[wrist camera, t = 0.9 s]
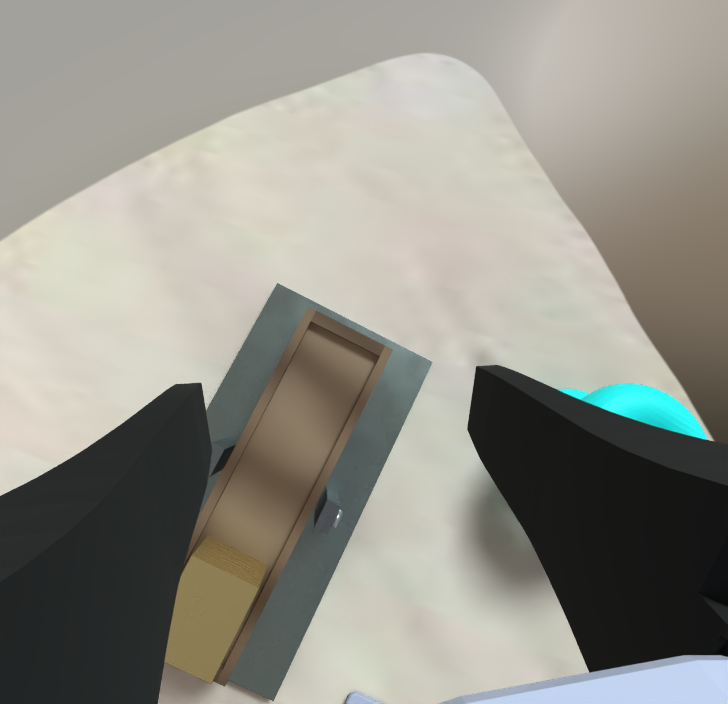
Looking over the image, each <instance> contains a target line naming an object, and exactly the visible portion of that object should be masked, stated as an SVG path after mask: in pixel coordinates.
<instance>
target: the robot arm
mask: <svg viewBox="0 0 728 704" xmlns="http://www.w3.org/2000/svg"><path fill="white" fill-rule="evenodd" d="M467 429H468V432H469V434H470V437H471V439H472V441H473V444H474V446H475V448H476V451H477V453H478V455H479V457H480V459H481V461H482V463H483V464H484V466H485V468H486V469H487V471H488V473H489V474H490V476H491V478H492V479H493V481H494V482H495V484H496V486H497V487H498V489H499V490H500V492H501V494H502V495H503V497H504V498H505V500H506V502H507V503H508V505H509V506H510V508H511V510H512V511H513V513H514V514H515V516H516V518H517V519H518V521H519V522H520V524H521V526H522V527H523V529H524V531H525V532H526V534H527V536H528V538H529V540H530V541H531V543H532V545H533V547H534V549H535V551H536V553H537V555H538V557H539V560H540V562H541V564H542V566H543V568H544V570H545V572H546V574H547V576H548V578H549V580H550V582H551V585H552V587H553V589H554V591H555V593H556V596H557V598H558V600H559V602H560V604H561V607H562V609H563V611H564V613H565V615H566V618H567V620H568V622H569V625H570V627H571V629H572V632H573V634H574V637H575V639H576V641H577V644H578V646H579V649H580V651H581V653H582V656H583V658H584V661H585V663H586V665H587V668H588V670H589V673H585V674H580V675H574V676H569V677H563V678H558V679H552V680H547V681H542V682H536V683H531V684H525V685H520V686H514V687H509V688H503V689H498V690H493V691H487V692H482V693H476V694H471V695H465V696H460V697H457V698H454V699H451V700H448V701H445V702H442V703H439V704H728V445H727V444H723V443H718V442H714V441H709V440H705V439H701V438H697V437H693V436H689V435H685V434H681V433H677V432H674V431H670V430H666V429H663V428H659V427H656V426H653V425H649V424H646V423H643V422H640V421H637V420H634V419H631V418H628V417H625V416H622V415H619V414H616V413H613V412H610V411H608V410H605V409H603V408H600V407H598V406H595V405H592V404H590V403H587V402H585V401H582V400H580V399H578V398H575V397H573V396H570V395H568V394H566V393H564V392H561V391H559V390H557V389H554V388H552V387H550V386H548V385H546V384H543V383H541V382H539V381H537V380H534V379H532V378H530V377H528V376H525V375H523V374H521V373H518V372H516V371H513V370H511V369H508V368H505V367H502V366H499V365H490V366H476V372H475V379H474V386H473V393H472V400H471V407H470V414H469V421H468V428H467ZM211 456H212V445H211V439H210V433H209V427H208V421H207V415H206V409H205V403H204V397H203V390H202V384H201V383H190V384H175V385H174V386H172V387H170V388H169V389H168V390H166V391H165V392H163V393H162V394H161V395H159V396H158V397H157V398H155V399H154V400H153V401H152V402H150V403H149V404H148V405H146V406H145V407H144V408H142V409H141V410H140V411H138V412H137V413H136V414H134V415H133V416H132V417H130V418H129V419H128V420H126V421H125V422H124V423H122V424H121V425H120V426H118V427H117V428H115V429H114V430H112V431H111V432H109V433H108V434H107V435H105V436H104V437H102V438H101V439H99V440H98V441H96V442H95V443H93V444H92V445H90V446H89V447H88V448H86V449H85V450H83V451H81V452H80V453H78V454H77V455H75V456H73V457H72V458H70V459H68V460H67V461H65V462H64V463H62V464H60V465H58V466H57V467H55V468H53V469H51V470H49V471H48V472H46V473H44V474H42V475H41V476H39V477H37V478H35V479H33V480H31V481H30V482H28V483H26V484H24V485H22V486H20V487H18V488H16V489H13V490H11V491H9V492H7V493H5V494H3V495H1V496H0V704H158V698H159V691H160V685H161V679H162V673H163V667H164V661H165V655H166V649H167V643H168V638H169V632H170V626H171V621H172V616H173V610H174V605H175V600H176V594H177V589H178V585H179V581H180V577H181V573H182V569H183V565H184V562H185V559H186V555H187V552H188V549H189V545H190V542H191V538H192V535H193V532H194V528H195V525H196V522H197V518H198V515H199V512H200V508H201V505H202V501H203V498H204V494H205V491H206V487H207V483H208V476H209V470H210V463H211ZM345 704H382V703H380V702H378V701H376V700H374V699H372V698H369V697H367V696H365V695H363V694H361V693H359V692H356V691H354V692H352V693H350V695H349V696H348V699H347V701H346V703H345Z"/></svg>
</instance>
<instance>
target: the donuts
mask: <svg viewBox="0 0 728 704" xmlns="http://www.w3.org/2000/svg"><path fill="white" fill-rule="evenodd" d="M558 390H559V391H561V392H564V393H566V394H568V395H570V396H573V397H575V398H578V399H580V400H582V401H585V402H587V403H590V404H592V405H595V406H598V407H600V408H603V409H605V410H608V411H610V412H613V413H616V414H619V415H622V416H625V417H628V418H631V419H634V420H637V421H640V422H643V423H646V424H649V425H653V426H656V427H659V428H663V429H666V430H670V431H674V432H677V433H681V434H685V435H689V436H693V437H697V438H701V439H705V440H707V438H706V436H705V433H704V431H703V430H702V428H701V426H700V424H699V423H698V421H697V420H696V419H695V417H694V416H693V415H692V414H691V413H690V412H689V411H688V410H687V409H686V408H685V407H684V406H683V405H682V404H681V403H680V402H678V401H677V400H676V399H674V398H673V397H671V396H670V395H668V394H666V393H664V392H662V391H660V390H657V389H655V388H652V387H648V386H644V385H639V384H616V385H610V386H606V387H603V388H601V389H598V390H596V391H594V392H592V393H587V392H584V391H580V390H575V389H558Z"/></svg>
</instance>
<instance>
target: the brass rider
mask: <svg viewBox="0 0 728 704" xmlns="http://www.w3.org/2000/svg"><path fill="white" fill-rule="evenodd" d="M267 566H268V565H267V564H265V563H263V562H261V561H259V560H256V559H254V558H252V557H250V556H248V555H246V554H244V553H242V552H240V551H238V550H236V549H234V548H232V547H230V546H228V545H226V544H224V543H222V542H220V541H218V540H216V539H213V538H211V537H209V536H207V537H206V538H205V540H204V541H203V542H202V543H201V544H200V546H199V547H198V548H197V549H196V551H195V552H194V553H193V554H192V556H191V558H190V560H189V562H188V563H187V565H186V567H185V569H184V571H183V573H182V575H181V577H180V581H179V585H178V589H177V594H176V600H175V605H174V610H173V616H172V621H171V626H170V632H169V638H168V643H167V649H166V655H165V661H164V662H166V663H168V664H170V665H172V666H174V667H176V668H178V669H180V670H182V671H184V672H187V673H189V674H191V675H193V676H195V677H197V678H199V679H201V680H203V681H205V682H208V683H210V684H211V683H212V681H213V679H214V677H215V675H216V673H217V671H218V669H219V667H220V665H221V663H222V661H223V659H224V657H225V655H226V653H227V651H228V649H229V647H230V645H231V643H232V641H233V639H234V637H235V635H236V633H237V631H238V629H239V627H240V625H241V623H242V621H243V619H244V617H245V615H246V613H247V611H248V609H249V607H250V605H251V603H252V601H253V599H254V597H255V595H256V593H257V591H258V589H259V587H260V584H261V582H262V579H263V576H264V574H265V571H266V568H267Z"/></svg>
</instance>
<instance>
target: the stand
mask: <svg viewBox="0 0 728 704" xmlns="http://www.w3.org/2000/svg"><path fill="white" fill-rule="evenodd" d="M308 307H310V308H312V309H314V310H316V311H318V312H320V313H322V314H324V315H326V316H328V317H330V318H332V319H334V320H336V321H338V322H340V323H342V324H344V325H346V326H347V327H349V328H351V329H353V330H355V331H357V332H359V333H361V334H363V335H365V336H367V337H369V338H371V339H373V340H375V341H377V342H379V343H381V344H383V345H385V346H387V347H389V348H391V349H393V351H392V353H391V355H390V357H389V359H388V361H387V363H386V365H385V367H384V369H383V371H382V373H381V375H380V377H379V379H378V381H377V383H376V385H375V387H374V389H373V391H372V393H371V395H370V397H369V399H368V401H367V403H366V405H365V407H364V409H363V411H362V413H361V415H360V417H359V419H358V421H357V423H356V425H355V427H354V429H353V431H352V433H351V435H350V437H349V439H348V441H347V443H346V445H345V447H344V449H343V451H342V453H341V455H340V457H339V459H338V461H337V463H336V465H335V467H334V469H333V471H332V473H331V475H330V477H329V479H328V481H327V483H326V485H325V487H324V489H323V491H322V493H321V495H320V497H319V499H318V501H317V503H316V505H315V507H314V509H313V511H312V513H311V515H310V517H309V519H308V521H307V523H306V525H305V527H304V529H303V531H302V533H301V535H300V537H299V539H298V541H297V543H296V545H295V547H294V549H293V551H292V553H291V555H290V557H289V559H288V561H287V563H286V565H285V567H284V569H283V571H282V573H281V575H280V577H279V579H278V581H277V583H276V585H275V587H274V589H273V591H272V593H271V595H270V597H269V599H268V601H267V603H266V605H265V607H264V609H263V611H262V613H261V615H260V617H259V619H258V621H257V623H256V625H255V627H254V629H253V631H252V633H251V635H250V637H249V639H248V641H247V643H246V645H245V647H244V649H243V651H242V653H241V655H240V657H239V659H238V661H237V663H236V665H235V667H234V669H233V671H232V673H231V675H230V677H229V679H228V680H230V681H232V682H234V683H236V684H238V685H240V686H242V687H245V688H247V689H249V690H251V691H253V692H255V693H257V694H259V695H261V696H263V697H266V698H268V699H270V700H272V701H274V699H275V697H276V695H277V692H278V690H279V688H280V686H281V684H282V682H283V680H284V678H285V675H286V673H287V671H288V669H289V667H290V665H291V663H292V661H293V658H294V656H295V654H296V652H297V650H298V648H299V646H300V643H301V641H302V639H303V637H304V635H305V633H306V631H307V629H308V626H309V624H310V622H311V620H312V618H313V616H314V614H315V612H316V609H317V607H318V605H319V603H320V601H321V599H322V597H323V594H324V592H325V590H326V588H327V586H328V584H329V582H330V580H331V577H332V575H333V573H334V571H335V569H336V567H337V565H338V562H339V560H340V558H341V556H342V554H343V552H344V550H345V548H346V545H347V543H348V541H349V539H350V537H351V535H352V533H353V531H354V528H355V526H356V524H357V522H358V520H359V518H360V516H361V513H362V511H363V509H364V507H365V505H366V503H367V501H368V499H369V496H370V494H371V492H372V490H373V488H374V486H375V484H376V482H377V479H378V477H379V475H380V473H381V471H382V469H383V467H384V464H385V462H386V460H387V458H388V456H389V454H390V452H391V450H392V447H393V445H394V443H395V441H396V439H397V437H398V435H399V432H400V430H401V428H402V426H403V424H404V422H405V420H406V418H407V415H408V413H409V411H410V409H411V407H412V405H413V403H414V401H415V398H416V396H417V394H418V392H419V390H420V388H421V386H422V383H423V381H424V379H425V377H426V375H427V373H428V371H429V369H430V366H431V364H432V362H431V361H429V360H427V359H425V358H423V357H421V356H419V355H418V354H416V353H414V352H412V351H410V350H408V349H406V348H404V347H402V346H400V345H398V344H396V343H394V342H392V341H390V340H388V339H386V338H384V337H382V336H380V335H378V334H376V333H374V332H372V331H370V330H368V329H366V328H365V327H363V326H361V325H359V324H357V323H355V322H353V321H351V320H349V319H347V318H345V317H343V316H341V315H339V314H337V313H335V312H333V311H331V310H329V309H327V308H325V307H323V306H321V305H319V304H317V303H315V302H313V301H312V300H310V299H308V298H306V297H304V296H302V295H300V294H298V293H296V292H294V291H292V290H290V289H288V288H286V287H284V286H282V285H280V284H278V283H277V285H276V287H275V288H274V290H273V292H272V294H271V296H270V297H269V299H268V301H267V303H266V305H265V306H264V308H263V310H262V312H261V314H260V315H259V317H258V319H257V321H256V323H255V324H254V326H253V328H252V330H251V332H250V333H249V335H248V337H247V339H246V341H245V342H244V344H243V346H242V348H241V350H240V351H239V353H238V355H237V357H236V359H235V360H234V362H233V364H232V366H231V368H230V369H229V371H228V373H227V375H226V376H225V378H224V380H223V382H222V384H221V385H220V387H219V389H218V391H217V393H216V394H215V396H214V398H213V400H212V402H211V403H210V405H209V407H208V409H207V411H206V415H207V421H208V427H209V433H210V439H211V445H212V456H211V463H210V470H209V476H208V483H207V487H206V491H205V494H204V498H203V501H202V505H201V508H200V512H199V515H200V514H201V512H202V510H203V508H204V506H205V504H206V502H207V500H208V498H209V496H210V494H211V492H212V490H213V489H214V487H215V485H216V483H217V481H218V479H219V477H220V475H221V473H222V471H223V469H224V467H225V465H226V463H227V462H228V460H229V458H230V456H231V454H232V452H233V450H234V448H235V446H236V444H237V442H238V440H239V438H240V437H241V435H242V433H243V431H244V429H245V427H246V425H247V423H248V421H249V419H250V417H251V415H252V413H253V411H254V410H255V408H256V406H257V404H258V402H259V400H260V398H261V396H262V394H263V392H264V390H265V388H266V386H267V385H268V383H269V381H270V379H271V377H272V375H273V373H274V371H275V369H276V367H277V365H278V363H279V361H280V359H281V358H282V356H283V354H284V352H285V350H286V348H287V346H288V344H289V342H290V340H291V338H292V336H293V334H294V333H295V331H296V329H297V327H298V325H299V323H300V321H301V319H302V317H303V315H304V313H305V311H306V309H307V308H308ZM199 515H198V517H199ZM197 519H198V518H197Z"/></svg>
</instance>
